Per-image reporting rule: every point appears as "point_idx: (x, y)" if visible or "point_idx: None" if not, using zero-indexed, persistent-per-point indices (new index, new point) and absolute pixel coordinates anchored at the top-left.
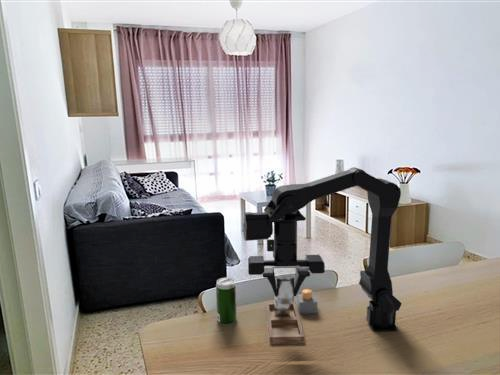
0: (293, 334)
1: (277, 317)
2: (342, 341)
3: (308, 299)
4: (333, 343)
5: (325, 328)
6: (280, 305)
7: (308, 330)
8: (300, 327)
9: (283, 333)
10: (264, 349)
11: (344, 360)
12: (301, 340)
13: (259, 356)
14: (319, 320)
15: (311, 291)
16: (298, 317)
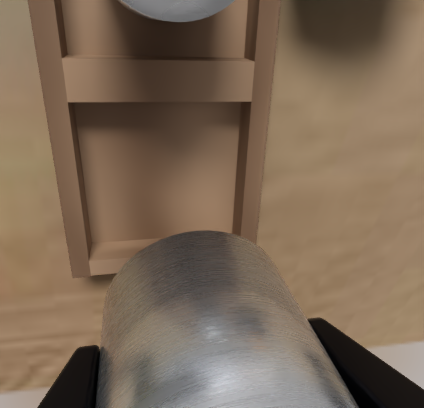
0: (206, 190)
1: (118, 66)
2: (404, 214)
3: None
4: (364, 228)
5: (381, 113)
6: (146, 16)
7: (292, 130)
8: (254, 187)
9: (152, 182)
10: (54, 283)
11: (357, 313)
12: None
13: (36, 324)
14: (384, 25)
15: None
16: (267, 72)
